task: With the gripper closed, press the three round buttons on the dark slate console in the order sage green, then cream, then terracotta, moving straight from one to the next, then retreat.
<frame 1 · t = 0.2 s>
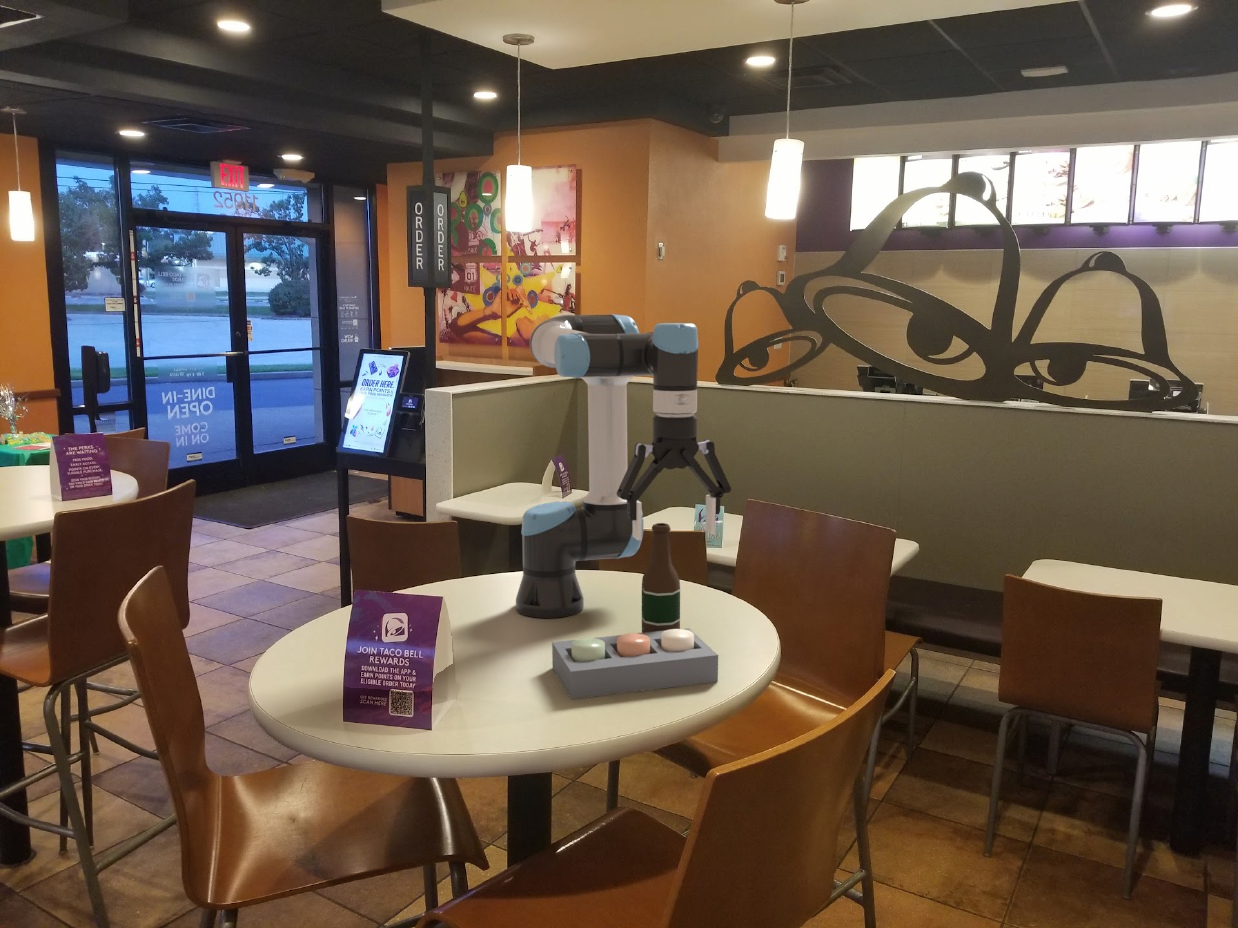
hand: (674, 535, 164), 27 cm above the table, fingers open, 13 cm apart
console: (633, 674, 172), on the table
button cream: (677, 645, 174), point 5 cm above the table, slide at 0.0 cm
button sage: (588, 655, 169), point 5 cm above the table, slide at 0.0 cm
button terracotta: (633, 650, 172), point 5 cm above the table, slide at 0.0 cm
beer bottle: (660, 641, 190), on the table
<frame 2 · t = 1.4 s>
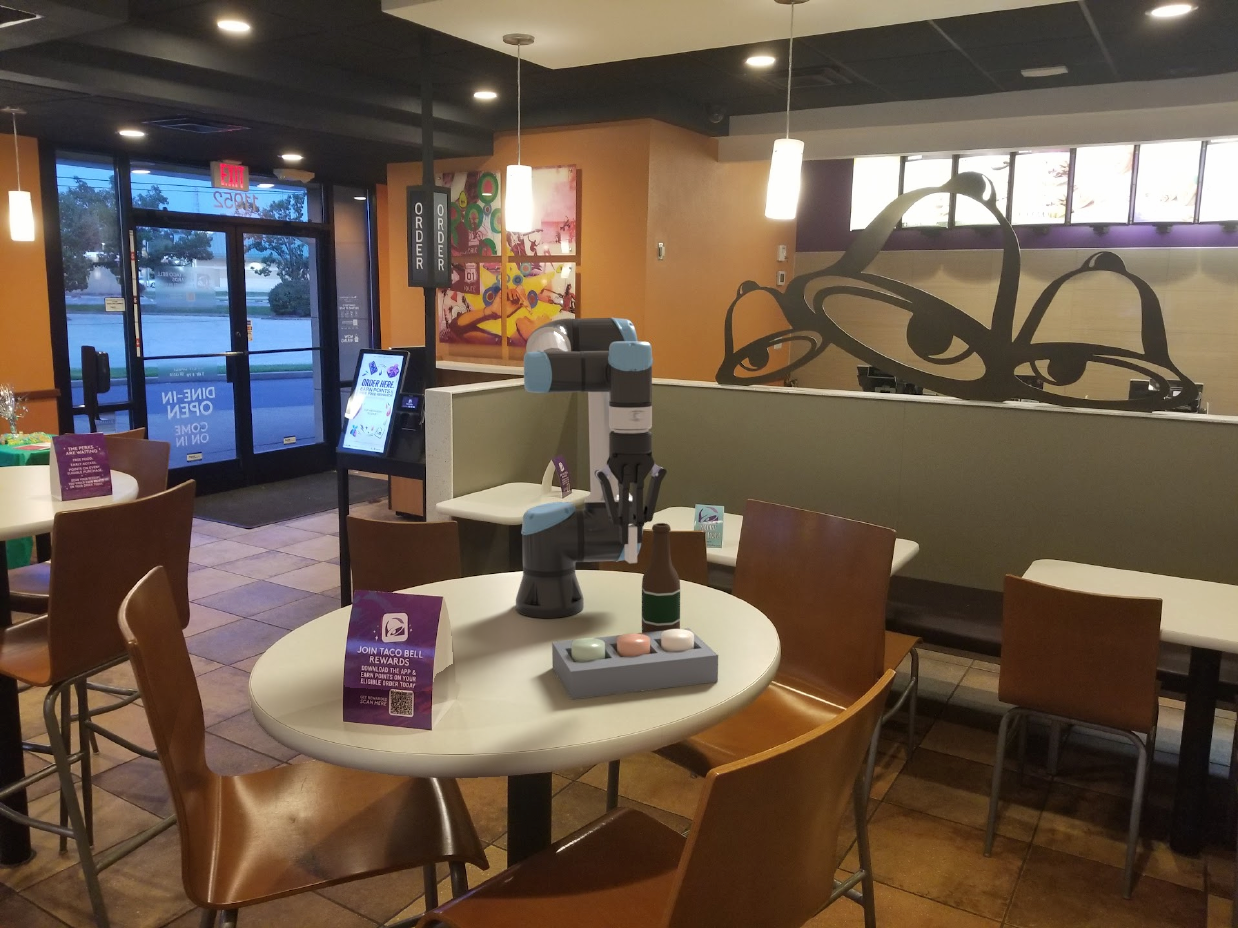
hand: (630, 561, 169), 22 cm above the table, fingers closed
nothing on the table moved.
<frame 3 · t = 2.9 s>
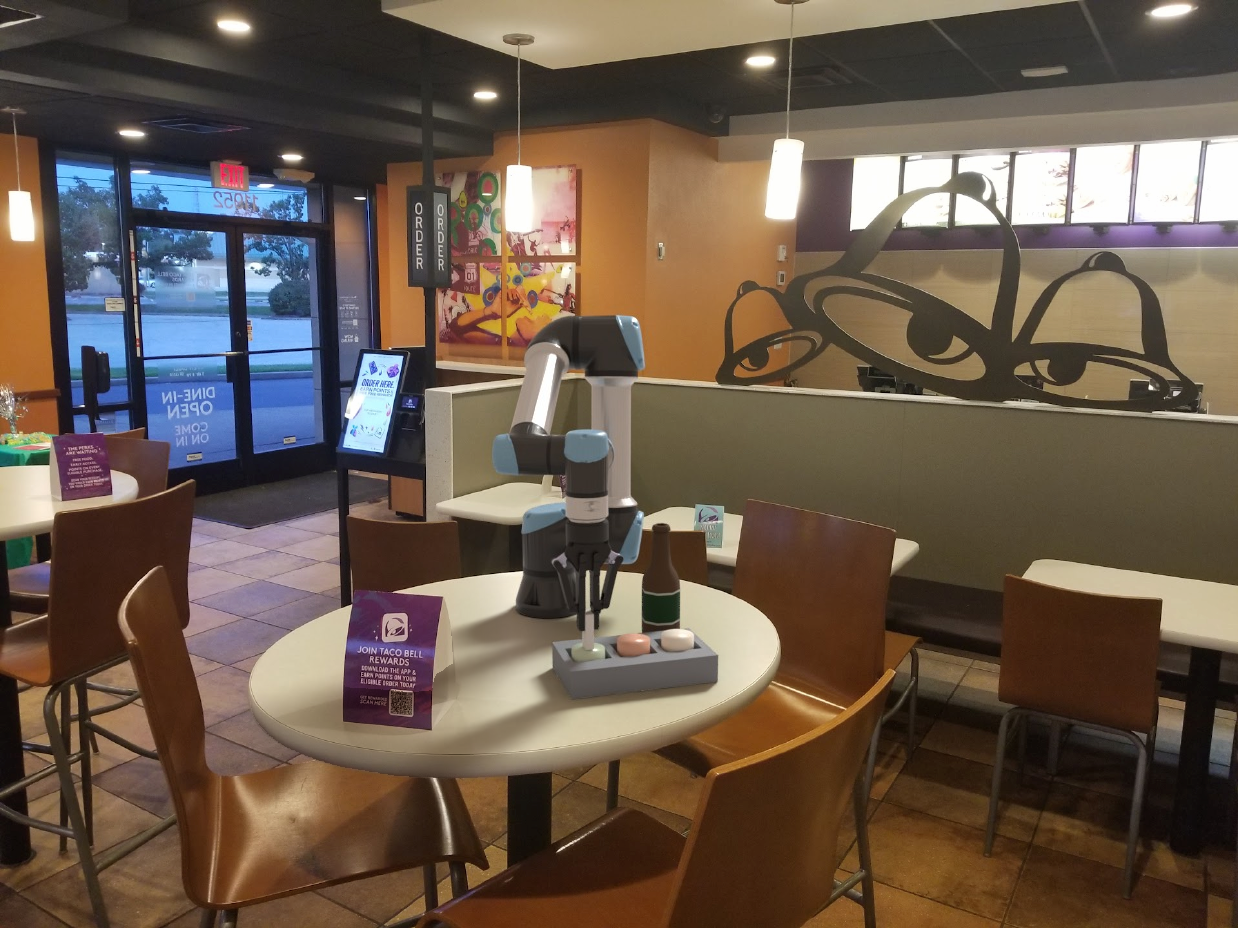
hand: (588, 647, 169), 6 cm above the table, fingers closed
button sage: (588, 659, 169), point 4 cm above the table, slide at 0.8 cm, touching gripper
everything else where it was.
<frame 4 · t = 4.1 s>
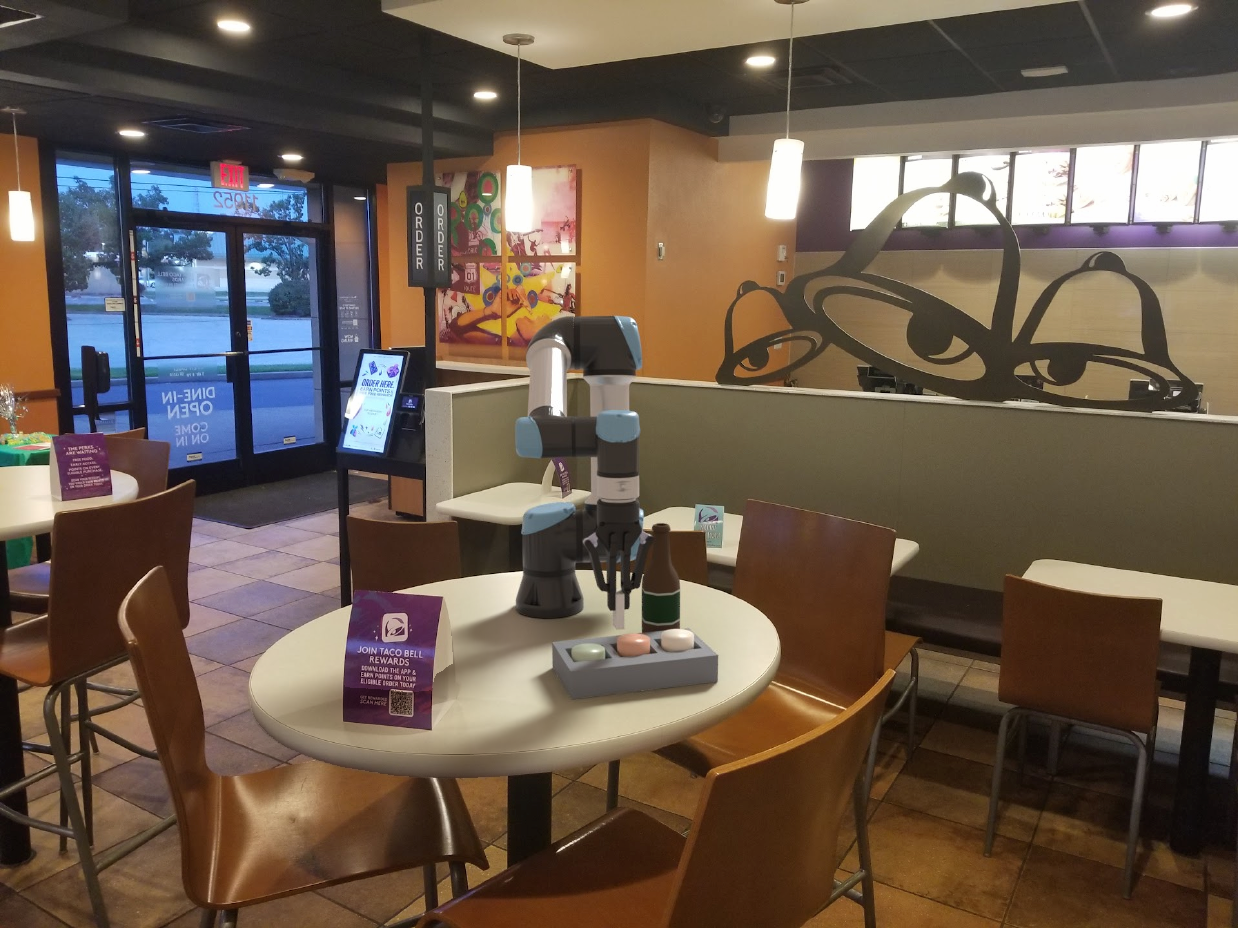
hand: (618, 626, 170), 9 cm above the table, fingers closed
button sage: (588, 660, 169), point 4 cm above the table, slide at 1.1 cm
everything else where it was.
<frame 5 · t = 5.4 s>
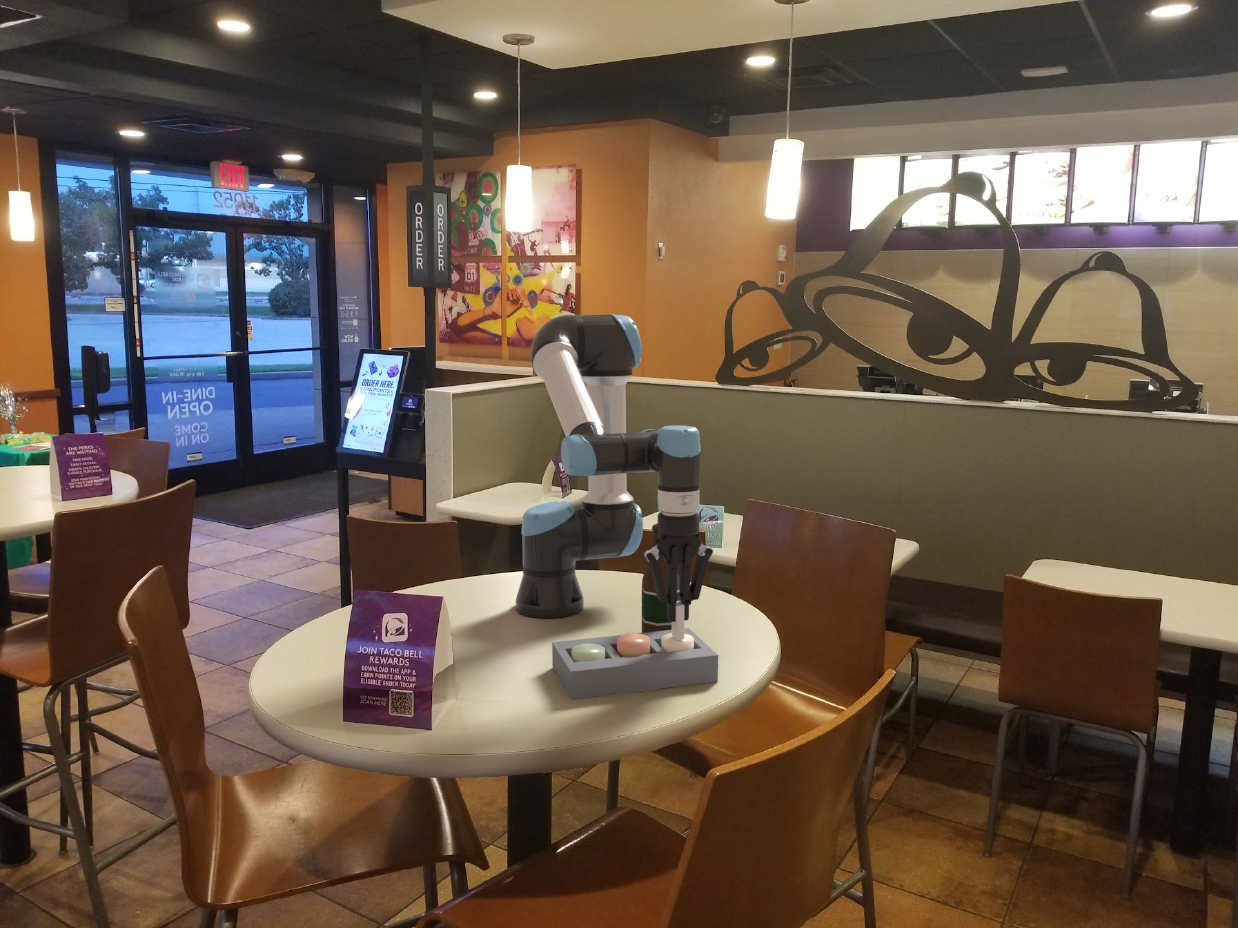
hand: (677, 637, 174), 6 cm above the table, fingers closed
button cream: (677, 649, 174), point 4 cm above the table, slide at 0.8 cm, touching gripper
everything else where it was.
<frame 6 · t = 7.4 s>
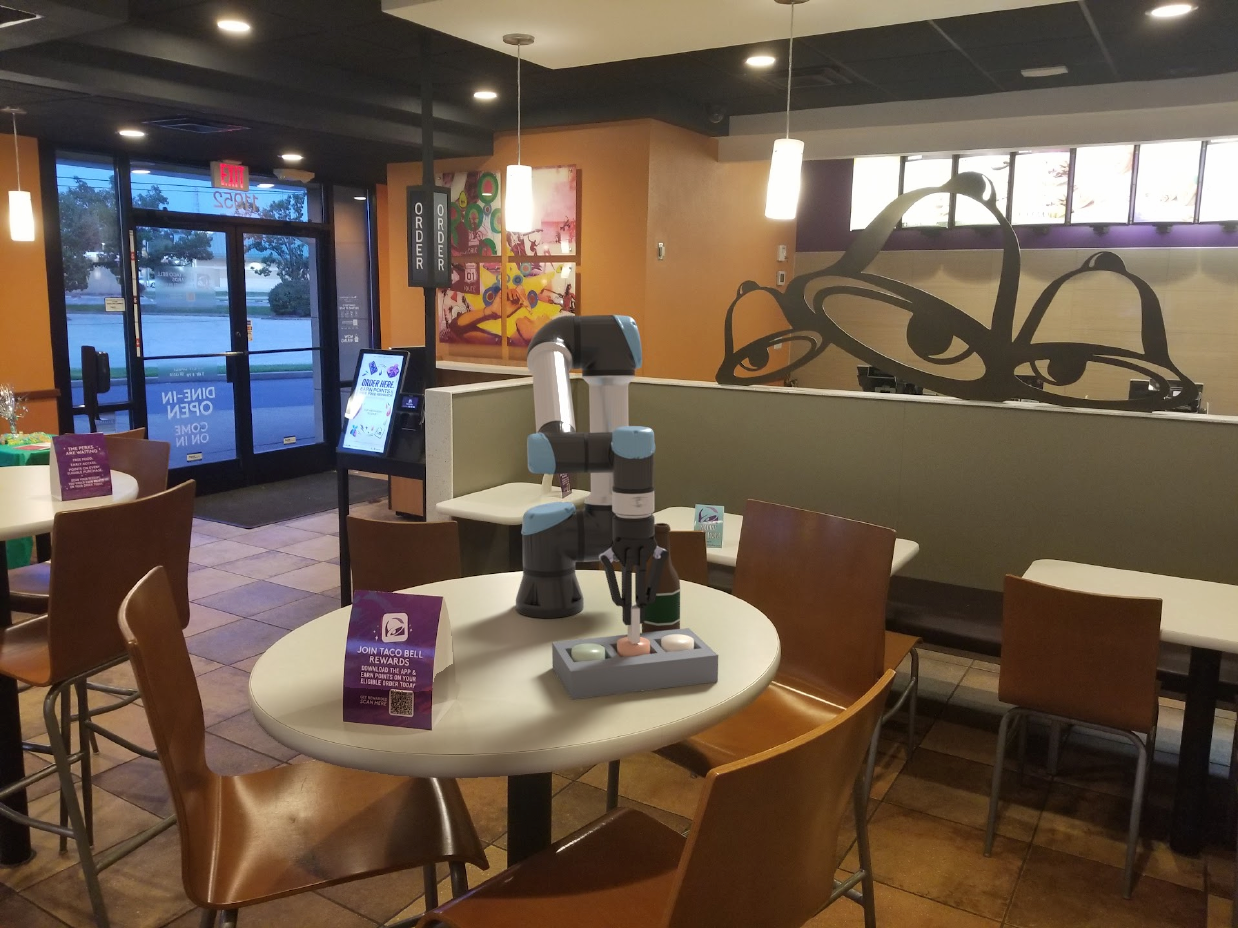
hand: (633, 640, 171), 6 cm above the table, fingers closed
button cream: (677, 651, 174), point 4 cm above the table, slide at 1.0 cm
button terracotta: (633, 653, 172), point 4 cm above the table, slide at 0.6 cm, touching gripper
everything else where it was.
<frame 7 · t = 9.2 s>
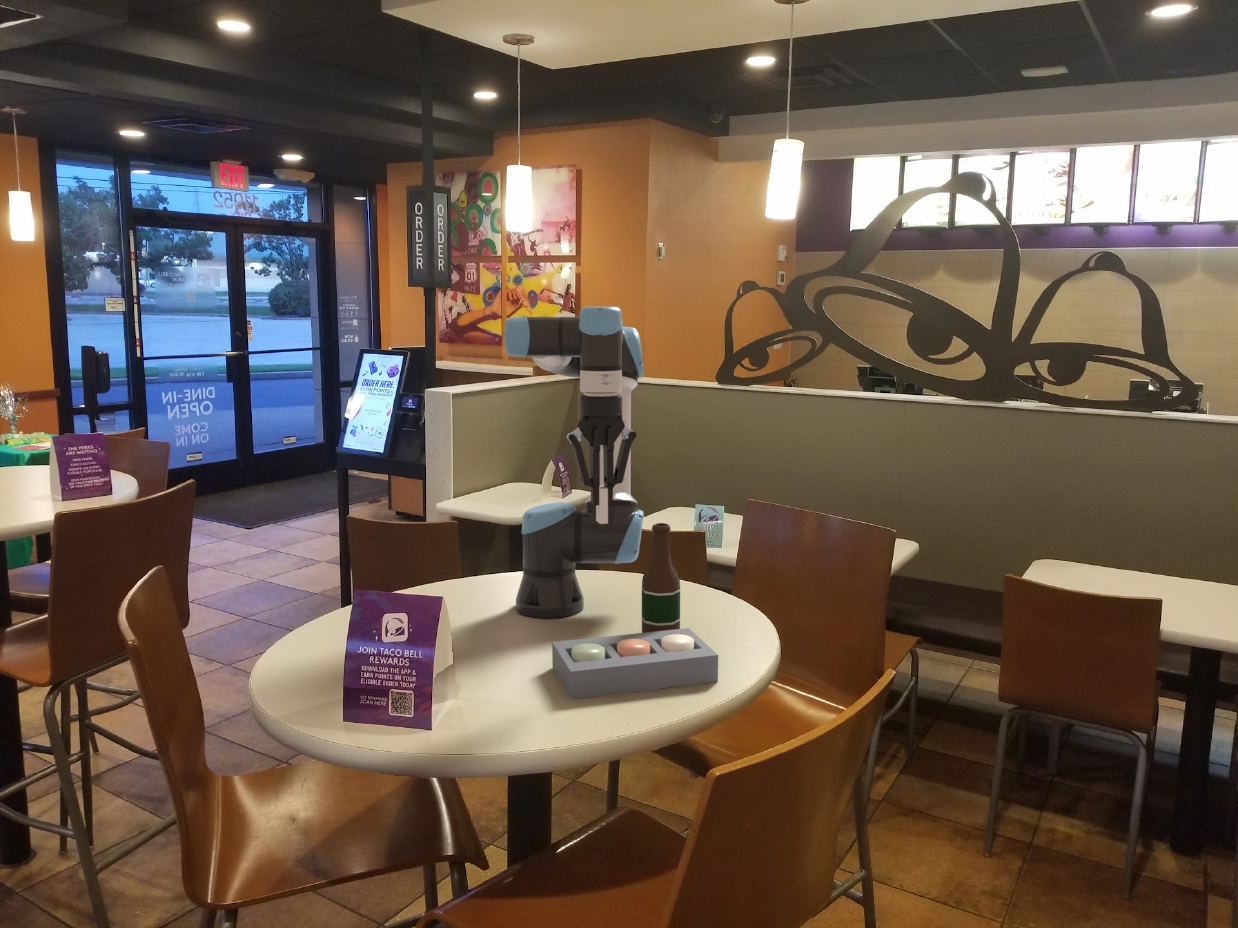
hand: (602, 521, 173), 27 cm above the table, fingers closed
button terracotta: (633, 655, 172), point 4 cm above the table, slide at 1.0 cm
everything else where it was.
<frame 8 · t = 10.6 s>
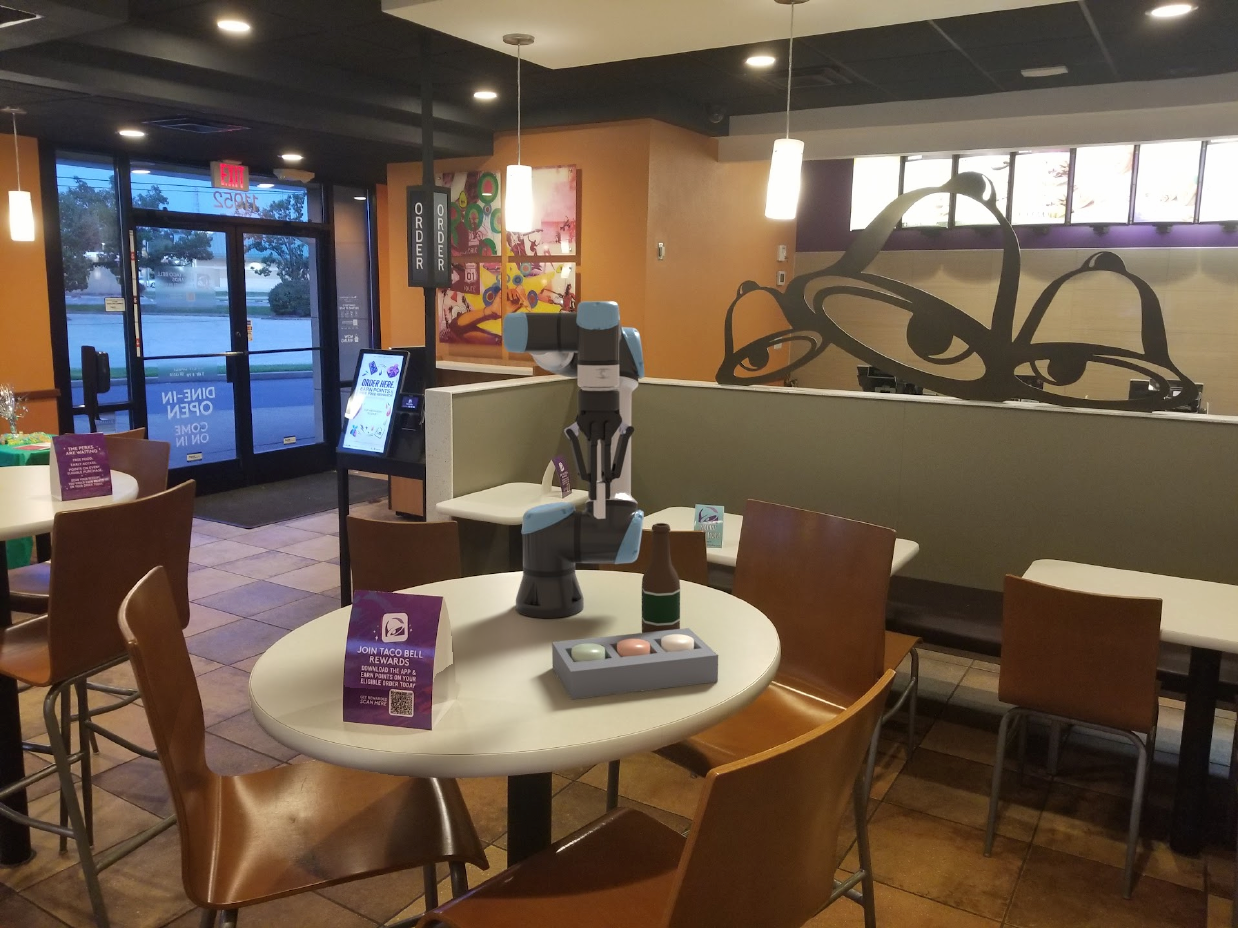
hand: (599, 516, 173), 28 cm above the table, fingers closed
nothing on the table moved.
at the end: button sage slide at 1.1 cm; button cream slide at 1.0 cm; button terracotta slide at 1.0 cm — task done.
